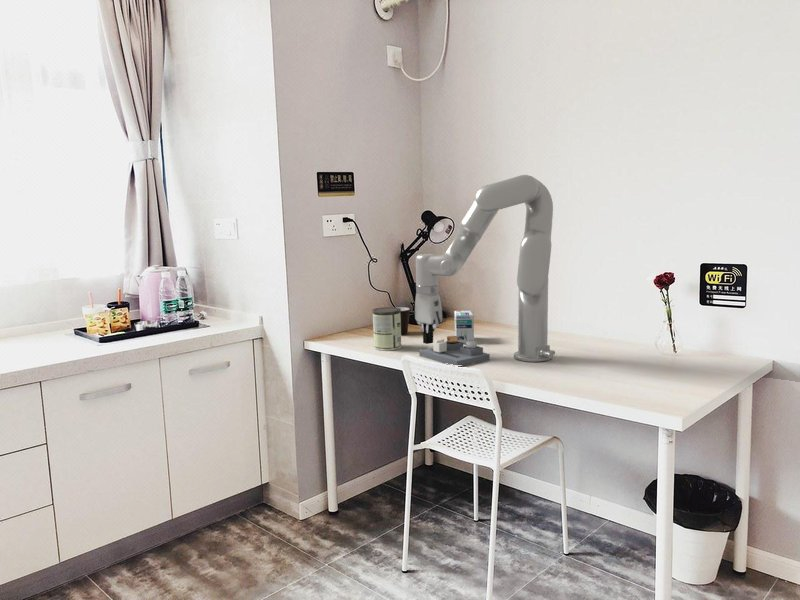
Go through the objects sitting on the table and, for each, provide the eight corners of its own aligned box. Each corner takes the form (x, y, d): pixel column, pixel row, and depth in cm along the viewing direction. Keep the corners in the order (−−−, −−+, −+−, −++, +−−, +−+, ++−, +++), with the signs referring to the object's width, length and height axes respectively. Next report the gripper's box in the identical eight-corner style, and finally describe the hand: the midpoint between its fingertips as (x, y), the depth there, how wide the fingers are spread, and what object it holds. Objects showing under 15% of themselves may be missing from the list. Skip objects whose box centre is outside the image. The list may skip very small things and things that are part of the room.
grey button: (479, 349, 224) (479, 341, 223) (470, 350, 221) (470, 343, 221) (471, 347, 226) (471, 339, 226) (463, 349, 224) (463, 341, 224)
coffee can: (374, 344, 250) (373, 307, 248) (401, 344, 250) (401, 306, 247) (372, 351, 240) (371, 312, 238) (401, 350, 239) (400, 311, 237)
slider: (446, 350, 226) (446, 339, 226) (439, 352, 224) (439, 341, 224) (440, 349, 229) (440, 338, 228) (433, 350, 227) (433, 339, 226)
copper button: (459, 344, 232) (459, 336, 231) (451, 345, 230) (451, 338, 229) (452, 342, 235) (452, 335, 234) (444, 344, 232) (444, 336, 232)
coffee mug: (393, 331, 274) (392, 307, 272) (413, 332, 271) (412, 307, 269) (382, 337, 263) (382, 311, 261) (403, 338, 260) (402, 312, 258)
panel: (489, 360, 222) (489, 348, 222) (457, 367, 214) (456, 355, 214) (450, 349, 239) (450, 338, 238) (419, 355, 231) (419, 344, 230)
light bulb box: (474, 343, 247) (474, 315, 245) (456, 344, 247) (455, 315, 246) (471, 337, 258) (471, 310, 256) (454, 338, 258) (453, 310, 256)
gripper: (449, 291, 225) (450, 345, 228) (422, 287, 237) (423, 338, 240) (432, 293, 221) (433, 348, 223) (405, 289, 233) (406, 341, 235)
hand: (428, 342), depth 232 cm, fingers closed
